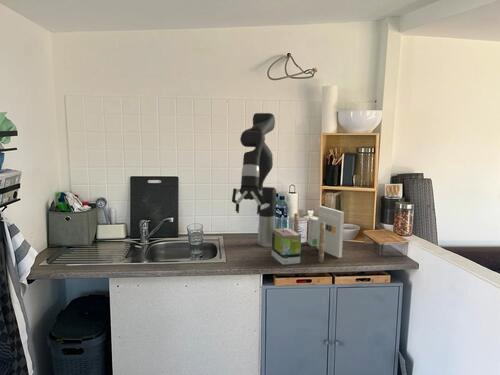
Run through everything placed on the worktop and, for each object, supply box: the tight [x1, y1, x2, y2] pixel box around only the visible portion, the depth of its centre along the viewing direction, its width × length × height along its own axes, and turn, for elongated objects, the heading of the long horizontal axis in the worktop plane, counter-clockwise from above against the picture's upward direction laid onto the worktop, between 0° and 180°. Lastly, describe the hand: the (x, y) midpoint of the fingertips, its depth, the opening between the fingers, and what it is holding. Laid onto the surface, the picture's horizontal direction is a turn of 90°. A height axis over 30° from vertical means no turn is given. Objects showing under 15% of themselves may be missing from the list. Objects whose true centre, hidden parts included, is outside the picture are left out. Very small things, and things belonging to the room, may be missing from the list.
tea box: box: [271, 227, 302, 265], centre depth 188 cm, size 15×10×15 cm, turn 18°
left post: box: [293, 212, 300, 233], centre depth 204 cm, size 2×2×20 cm
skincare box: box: [307, 216, 318, 247], centre depth 214 cm, size 8×7×16 cm
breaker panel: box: [316, 205, 345, 259], centre depth 199 cm, size 18×3×24 cm, turn 28°
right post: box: [318, 222, 325, 263], centre depth 185 cm, size 2×2×20 cm
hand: (247, 213), depth 159 cm, fingers open, 8 cm apart
